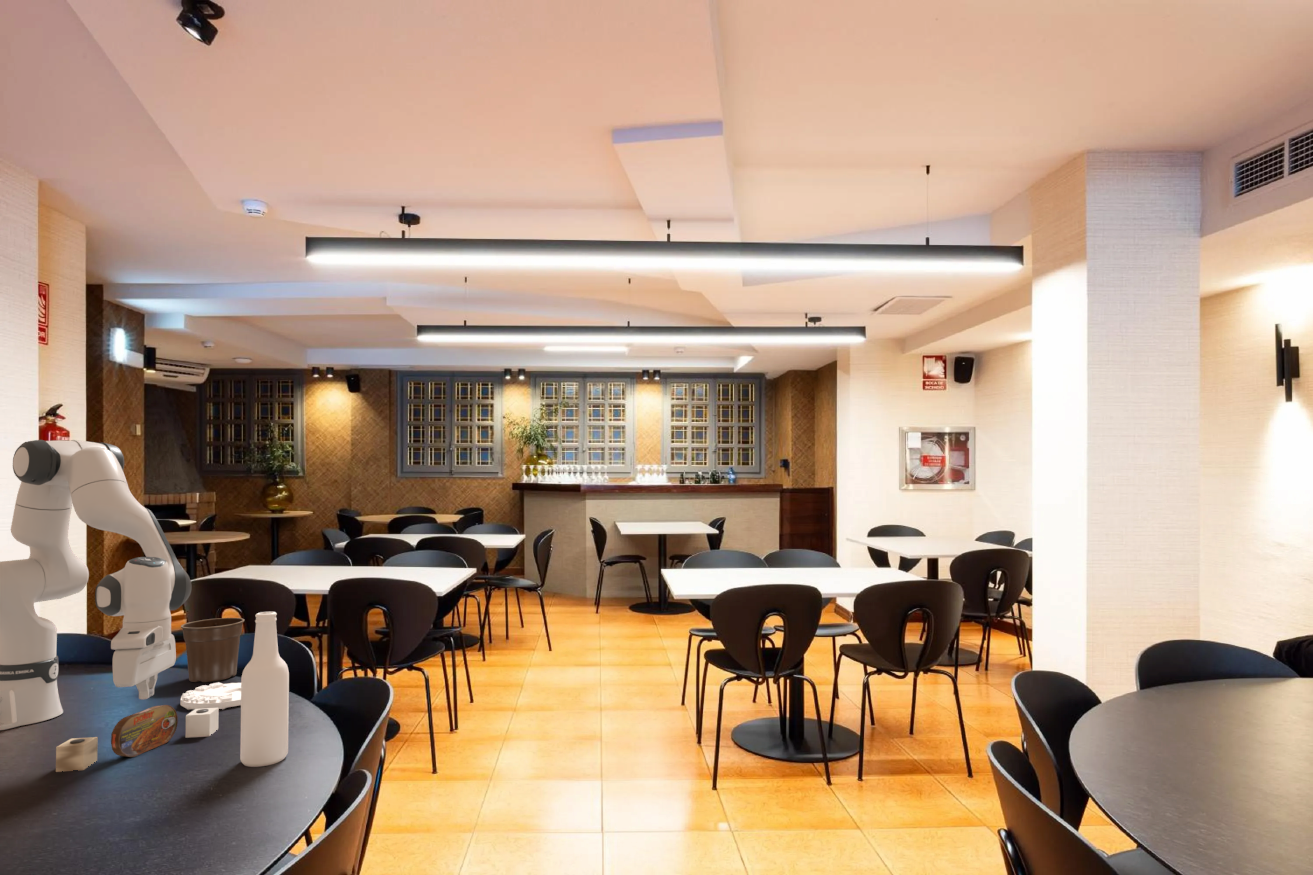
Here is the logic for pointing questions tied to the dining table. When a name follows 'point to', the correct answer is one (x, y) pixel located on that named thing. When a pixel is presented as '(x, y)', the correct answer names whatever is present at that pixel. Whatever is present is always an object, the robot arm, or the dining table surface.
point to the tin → (144, 731)
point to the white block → (202, 722)
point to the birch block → (76, 754)
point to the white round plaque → (212, 696)
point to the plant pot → (212, 648)
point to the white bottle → (264, 699)
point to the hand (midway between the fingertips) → (146, 697)
